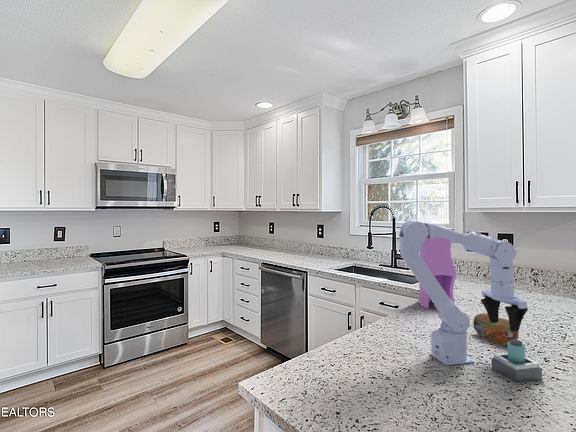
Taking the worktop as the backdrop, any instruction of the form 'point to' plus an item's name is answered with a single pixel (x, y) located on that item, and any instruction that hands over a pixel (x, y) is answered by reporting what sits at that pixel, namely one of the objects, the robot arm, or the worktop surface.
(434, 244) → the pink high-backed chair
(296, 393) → the worktop surface
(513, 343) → the teal capped cylinder
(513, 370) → the grey flat square block
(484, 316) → the tin
